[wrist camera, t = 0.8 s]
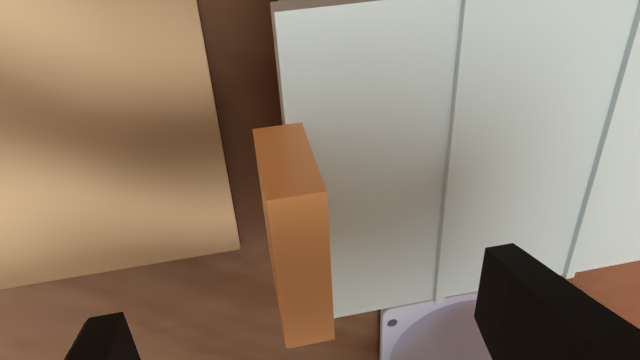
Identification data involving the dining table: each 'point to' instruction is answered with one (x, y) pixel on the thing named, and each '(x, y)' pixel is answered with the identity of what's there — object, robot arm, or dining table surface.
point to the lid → (445, 147)
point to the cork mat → (107, 139)
